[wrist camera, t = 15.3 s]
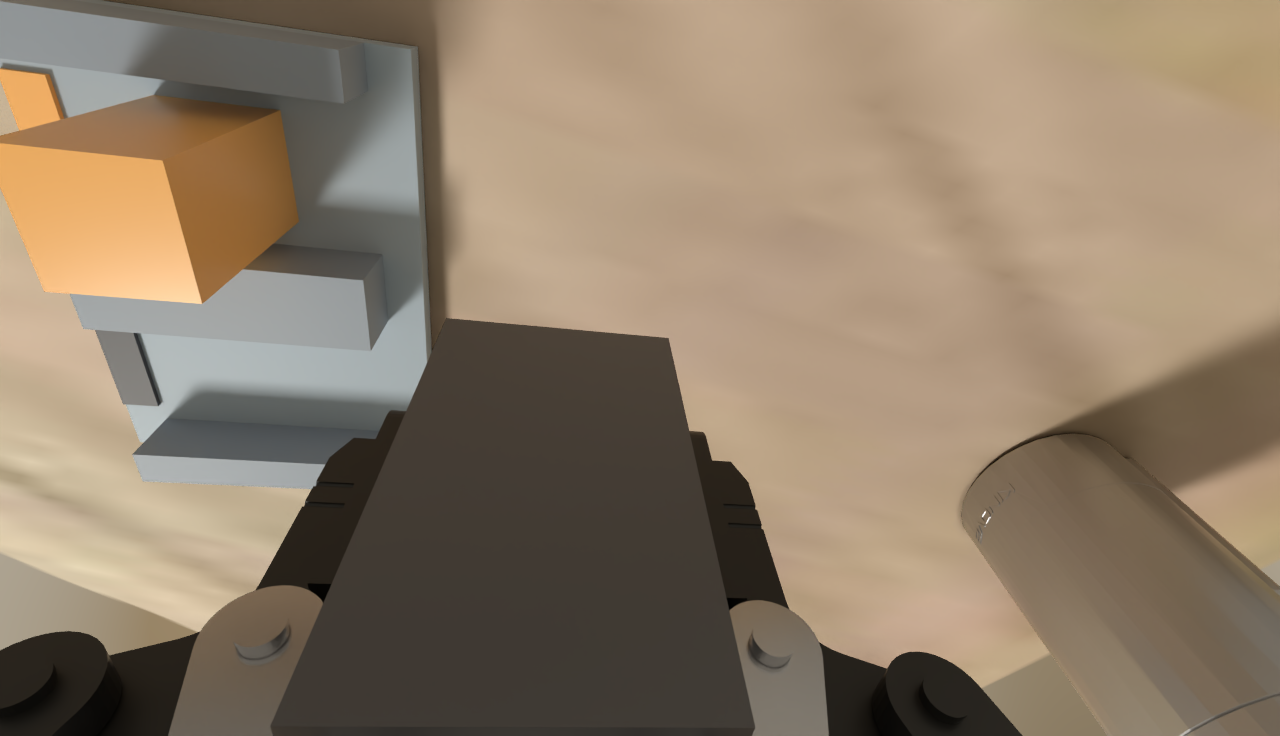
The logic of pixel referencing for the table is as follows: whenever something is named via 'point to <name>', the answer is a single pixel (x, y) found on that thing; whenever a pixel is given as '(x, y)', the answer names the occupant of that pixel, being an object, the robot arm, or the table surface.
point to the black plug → (529, 557)
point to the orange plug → (149, 196)
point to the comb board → (331, 210)
